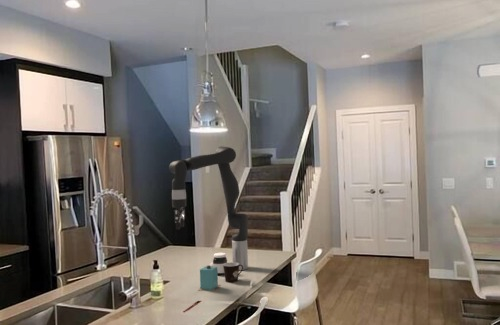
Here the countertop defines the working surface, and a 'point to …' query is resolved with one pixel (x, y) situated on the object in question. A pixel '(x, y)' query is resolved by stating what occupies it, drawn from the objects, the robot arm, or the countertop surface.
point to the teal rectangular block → (208, 278)
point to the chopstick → (192, 305)
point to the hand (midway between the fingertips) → (180, 228)
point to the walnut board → (210, 290)
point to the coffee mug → (231, 271)
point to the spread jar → (219, 262)
